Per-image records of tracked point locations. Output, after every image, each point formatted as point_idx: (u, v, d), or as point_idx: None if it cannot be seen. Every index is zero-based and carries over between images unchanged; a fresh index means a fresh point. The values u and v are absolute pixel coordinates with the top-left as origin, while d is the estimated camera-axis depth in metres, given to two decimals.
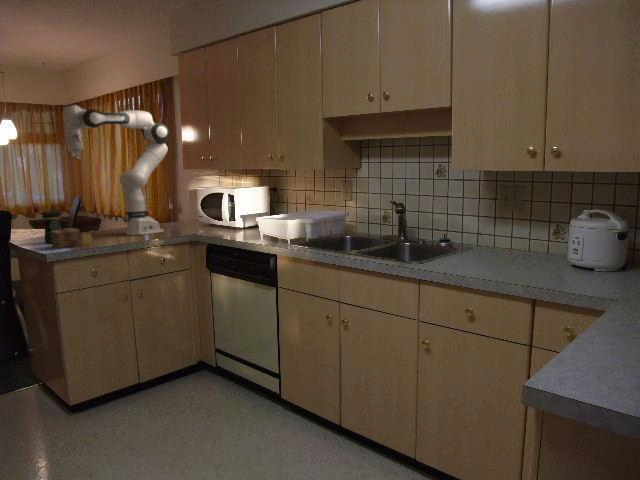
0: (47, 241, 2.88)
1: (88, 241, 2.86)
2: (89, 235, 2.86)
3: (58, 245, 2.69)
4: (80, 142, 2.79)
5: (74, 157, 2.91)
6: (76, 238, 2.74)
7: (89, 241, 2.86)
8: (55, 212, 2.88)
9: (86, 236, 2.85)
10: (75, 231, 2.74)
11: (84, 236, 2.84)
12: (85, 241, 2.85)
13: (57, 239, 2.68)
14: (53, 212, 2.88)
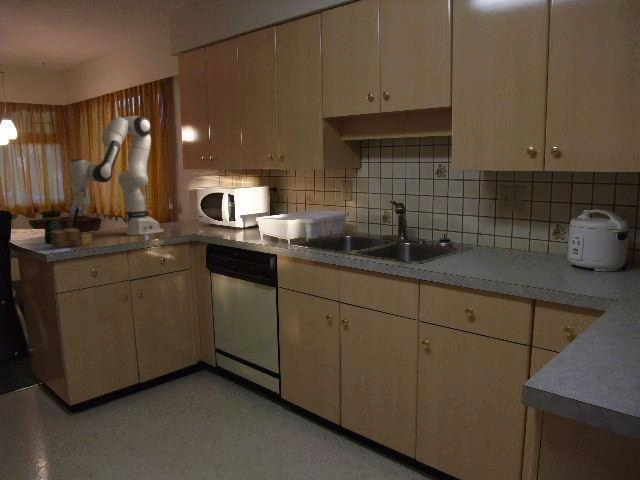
0: (47, 241, 2.88)
1: (88, 241, 2.86)
2: (89, 235, 2.86)
3: (58, 245, 2.69)
4: (87, 197, 2.75)
5: (80, 210, 2.86)
6: (76, 238, 2.74)
7: (89, 241, 2.86)
8: (55, 212, 2.88)
9: (86, 236, 2.85)
10: (75, 231, 2.74)
11: (84, 236, 2.84)
12: (85, 241, 2.85)
13: (57, 239, 2.68)
14: (53, 212, 2.88)
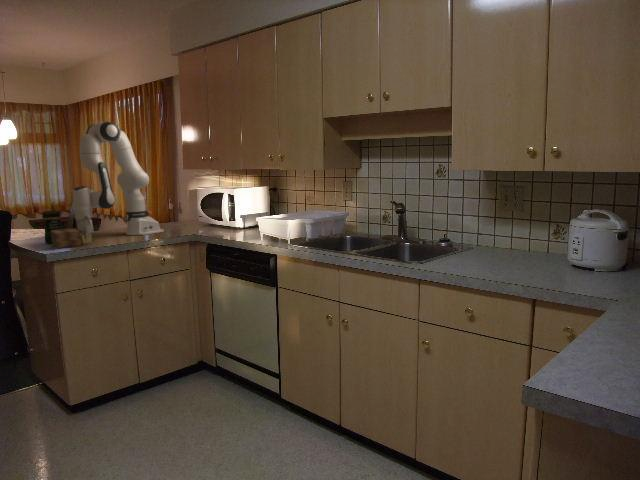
0: (47, 241, 2.88)
1: (88, 241, 2.86)
2: (89, 235, 2.86)
3: (58, 245, 2.69)
4: (90, 225, 2.77)
5: None
6: (76, 238, 2.74)
7: (89, 241, 2.86)
8: (55, 212, 2.88)
9: None
10: (75, 231, 2.74)
11: (84, 236, 2.84)
12: (85, 241, 2.85)
13: (57, 239, 2.68)
14: (53, 212, 2.88)
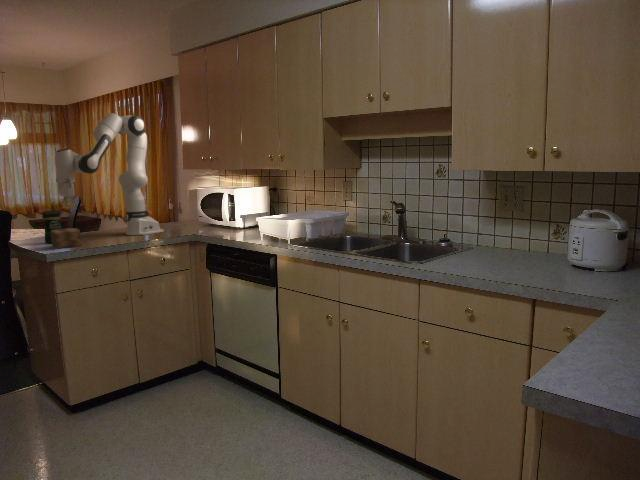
0: (47, 241, 2.88)
1: (69, 206, 2.75)
2: None
3: (58, 245, 2.69)
4: (72, 188, 2.67)
5: None
6: (76, 238, 2.74)
7: (70, 206, 2.76)
8: (55, 212, 2.88)
9: None
10: (75, 231, 2.74)
11: (65, 200, 2.74)
12: (66, 205, 2.74)
13: (57, 239, 2.68)
14: (53, 212, 2.88)
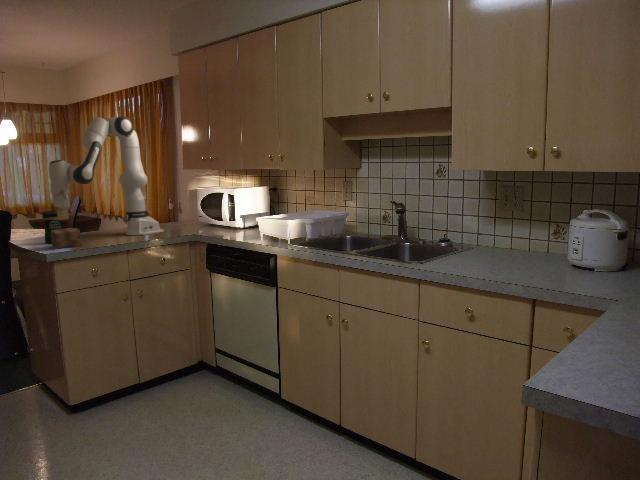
0: (47, 241, 2.88)
1: (64, 217, 2.74)
2: (66, 211, 2.74)
3: (58, 245, 2.69)
4: (66, 200, 2.66)
5: None
6: (76, 238, 2.74)
7: (65, 217, 2.74)
8: (55, 212, 2.88)
9: None
10: (75, 231, 2.74)
11: (60, 212, 2.72)
12: (62, 217, 2.73)
13: (57, 239, 2.68)
14: (53, 212, 2.88)
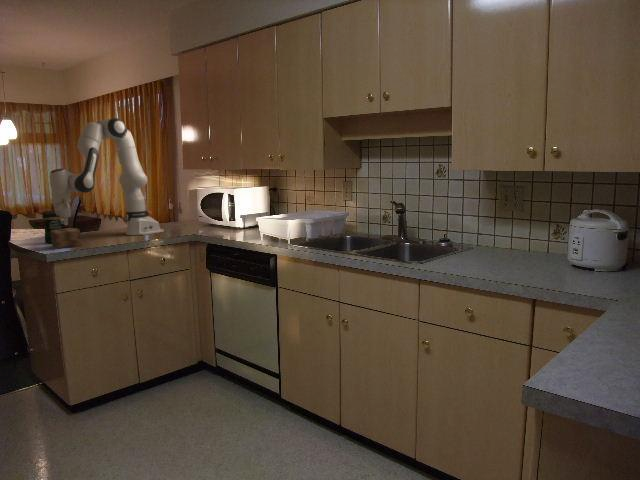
0: (47, 241, 2.88)
1: None
2: None
3: (58, 245, 2.69)
4: (68, 209, 2.67)
5: (62, 222, 2.77)
6: (76, 238, 2.74)
7: None
8: None
9: None
10: (75, 231, 2.74)
11: None
12: None
13: (57, 239, 2.68)
14: (53, 212, 2.88)
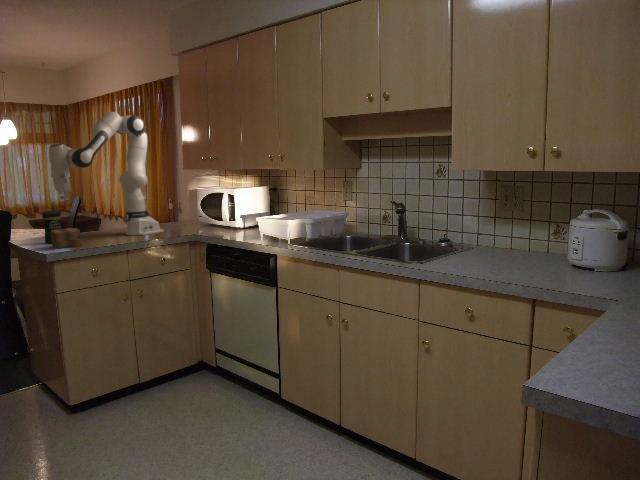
0: (47, 241, 2.88)
1: None
2: None
3: (58, 245, 2.69)
4: (67, 183, 2.68)
5: (62, 197, 2.79)
6: (76, 238, 2.74)
7: None
8: (55, 212, 2.88)
9: None
10: (75, 231, 2.74)
11: None
12: None
13: (57, 239, 2.68)
14: (53, 212, 2.88)
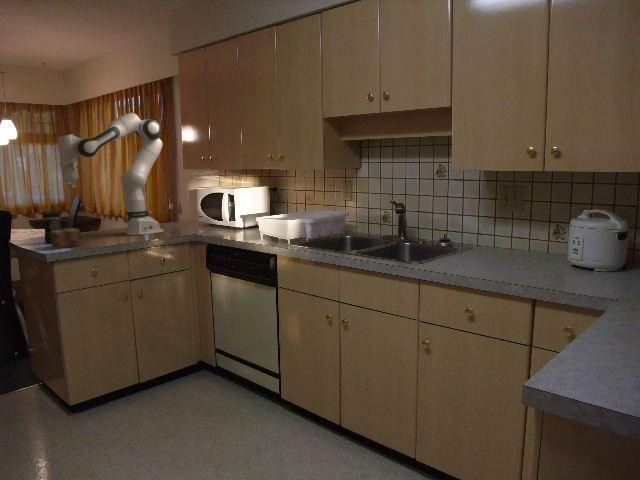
0: (47, 241, 2.88)
1: None
2: None
3: (58, 245, 2.69)
4: (75, 172, 2.80)
5: (69, 185, 2.91)
6: (76, 238, 2.74)
7: None
8: (55, 212, 2.88)
9: None
10: (75, 231, 2.74)
11: None
12: None
13: (57, 239, 2.68)
14: (53, 212, 2.88)
